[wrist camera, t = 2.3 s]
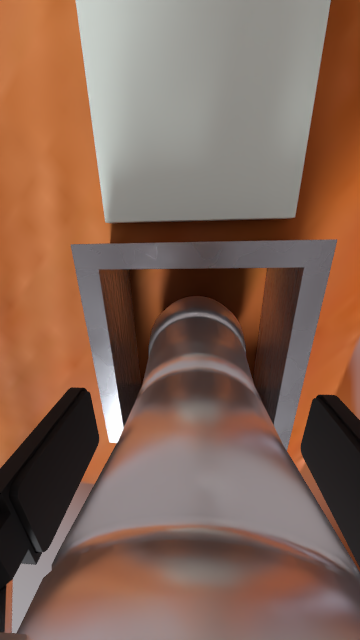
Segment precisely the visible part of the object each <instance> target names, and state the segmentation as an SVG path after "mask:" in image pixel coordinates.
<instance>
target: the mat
mask: <svg viewBox="0 0 360 640" xmlns="http://www.w3.org/2000/svg"><path fill="white" fill-rule="evenodd" d="M330 2H331V0H76V7H77V14H78V22H79V29H80V37H81V44H82V51H83V59H84V66H85V74H86V81H87V89H88V96H89V104H90V111H91V119H92V126H93V134H94V141H95V148H96V156H97V163H98V171H99V178H100V186H101V193H102V201H103V208H104V216H105V222H106V223H139V222H178V221H217V220H256V219H290V218H295V215H296V209H297V203H298V197H299V191H300V185H301V179H302V173H303V167H304V161H305V154H306V148H307V142H308V136H309V130H310V124H311V118H312V112H313V106H314V100H315V94H316V87H317V81H318V75H319V69H320V63H321V57H322V51H323V45H324V39H325V33H326V27H327V21H328V14H329V8H330Z"/></svg>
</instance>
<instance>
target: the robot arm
mask: <svg viewBox="0 0 360 640" xmlns="http://www.w3.org/2000/svg"><path fill="white" fill-rule="evenodd" d="M98 443H99V434H98V429H97V424H96V419H95V415H94V410H93V405H92V400H91V395H90V392H87V390H86V389H85V388H70V389H69V390H68V391H67V392H66V393H65V394H64V395H63V397H62V398H61V399H60V400H59V401H58V402H57V403H56V405H55V406H54V407H53V408H52V409H51V410H50V412H49V413H48V414H47V415H46V416H45V417H44V419H43V420H42V421H41V422H40V423H39V424H38V426H37V427H36V428H35V429H34V430H33V431H32V432H31V434H30V435H29V436H28V437H27V438H26V439H25V441H24V442H23V443H22V444H21V445H20V446H19V448H18V449H17V450H16V451H15V452H14V453H13V455H12V456H11V457H10V458H9V459H8V460H7V461H6V463H5V464H4V465H3V466H2V467H1V468H0V640H27V635H26V634H15V633H12V593H13V577H14V575H15V574H16V572H17V570H18V568H19V566H20V564H21V563H24V564H35V565H36V564H37V562H38V560H39V558H40V556H41V554H42V552H45V551H46V550H47V549H48V548H49V546H50V544H51V542H52V540H53V538H54V536H55V534H56V532H57V530H58V528H59V526H60V524H61V521H62V519H63V517H64V515H65V513H66V511H67V509H68V507H69V505H70V503H71V500H72V498H73V496H74V494H75V492H76V490H77V488H78V486H79V484H80V482H81V480H82V478H83V475H84V473H85V471H86V469H87V467H88V465H89V463H90V461H91V459H92V457H93V454H94V452H95V450H96V448H97V446H98ZM301 453H302V456H303V458H304V460H305V462H306V464H307V466H308V468H309V469H310V471H311V473H312V475H313V477H314V479H315V481H316V483H317V485H318V487H319V489H320V491H321V493H322V495H323V497H324V499H325V501H326V503H327V505H328V507H329V508H330V510H331V512H332V514H333V516H334V518H335V520H336V522H337V524H338V526H339V528H340V530H341V532H342V534H343V536H344V538H345V540H346V542H347V544H348V546H349V548H350V550H351V551H352V553H353V555H354V557H355V559H356V561H357V563H358V565H359V567H360V420H359V419H358V418H357V417H356V416H355V415H354V414H353V413H352V412H351V411H350V410H349V409H348V407H347V406H346V405H345V404H344V403H343V402H342V401H341V400H340V399H339V398H338V397H337V396H335V395H318V396H317V397H316V398H314V399H313V400H312V404H311V408H310V412H309V416H308V420H307V423H306V427H305V431H304V435H303V439H302V443H301Z"/></svg>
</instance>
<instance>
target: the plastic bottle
mask: <svg viewBox="0 0 360 640" xmlns="http://www.w3.org/2000/svg"><path fill="white" fill-rule="evenodd" d="M16 634H26V635H27V640H360V572H359V570H358V569H357V567H356V565H355V564H354V562H353V560H352V559H351V557H350V555H349V554H348V552H347V550H346V549H345V547H344V545H343V544H342V542H341V541H340V539H339V537H338V535H337V534H336V532H335V530H334V529H333V527H332V525H331V524H330V522H329V520H328V519H327V517H326V515H325V514H324V512H323V510H322V509H321V507H320V505H319V504H318V502H317V501H316V499H315V497H314V495H313V494H312V492H311V490H310V489H309V487H308V486H307V484H306V482H305V481H304V479H303V477H302V476H301V474H300V472H299V471H298V469H297V467H296V466H295V464H294V462H293V461H292V459H291V457H290V456H289V454H288V452H287V451H286V449H285V447H284V446H283V444H282V442H281V439H280V437H279V435H278V433H277V431H276V429H275V427H274V425H273V423H272V421H271V419H270V417H269V415H268V413H267V411H266V409H265V407H264V405H263V403H262V401H261V398H260V396H259V394H258V392H257V390H256V388H255V386H254V383H253V380H252V376H251V373H250V369H249V365H248V362H247V358H246V345H245V340H244V336H243V332H242V328H241V326H240V324H239V322H238V320H237V318H236V317H235V316H234V315H233V313H232V312H231V311H230V310H228V309H227V308H226V307H225V306H223V305H222V304H221V303H219V302H217V301H216V300H214V299H211V298H208V297H204V296H190V297H185V298H182V299H179V300H177V301H176V302H174V303H172V304H171V305H170V306H169V307H167V308H166V309H165V310H164V311H163V312H162V313H161V314H160V315H159V317H158V318H157V319H156V321H155V323H154V326H153V328H152V332H151V336H150V342H149V359H148V363H147V367H146V372H145V376H144V380H143V385H142V387H141V389H140V392H139V394H138V396H137V398H136V401H135V404H134V406H133V408H132V410H131V412H130V415H129V417H128V419H127V422H126V424H125V426H124V429H123V431H122V433H121V435H120V438H119V440H118V442H117V444H116V446H115V448H114V450H113V452H112V453H111V455H110V457H109V459H108V461H107V463H106V464H105V466H104V468H103V470H102V472H101V474H100V475H99V477H98V479H97V481H96V483H95V485H94V487H93V488H92V490H91V492H90V494H89V496H88V498H87V499H86V501H85V503H84V505H83V507H82V509H81V511H80V512H79V514H78V516H77V518H76V520H75V522H74V524H73V525H72V527H71V529H70V531H69V533H68V534H67V536H66V538H65V540H64V542H63V544H62V546H61V547H60V549H59V551H58V553H57V555H56V557H55V559H54V562H53V564H52V571H51V572H50V573H49V574H47V575H46V576H45V577H44V578H43V580H42V582H41V584H40V586H39V588H38V590H37V592H36V594H35V596H34V598H33V600H32V602H31V604H30V607H29V609H28V611H27V613H26V615H25V617H24V619H23V621H22V623H21V625H20V627H19V629H18V631H17V633H16Z"/></svg>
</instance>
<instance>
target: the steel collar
mask: <svg viewBox="0 0 360 640" xmlns="http://www.w3.org/2000/svg"><path fill="white" fill-rule="evenodd" d="M336 243H337V240H262V241H209V242H156V243H106V244H73V245H71V249H72V254H73V259H74V264H75V269H76V274H77V280H78V285H79V290H80V295H81V300H82V305H83V310H84V315H85V320H86V325H87V331H88V336H89V341H90V346H91V351H92V356H93V361H94V366H95V371H96V377H97V382H98V387H99V392H100V397H101V402H102V407H103V412H104V417H105V423H106V428H107V433H108V438H109V442H111V443H117V442H118V440H119V438H120V435H121V433H122V431H123V429H124V426H125V424H126V422H127V419H128V417H129V415H130V412H131V410H132V408H133V406H134V404H135V401H136V398H137V396H138V394H139V392H140V389H141V387H142V385H143V384H141V379H140V369H139V360H138V350H137V340H136V331H135V321H134V312H133V302H132V293H131V283H130V273H129V269H192V268H267V275H266V282H265V290H264V297H263V305H262V313H261V320H260V328H259V335H258V343H257V351H256V358H255V366H254V374H253V383H254V386H255V388H256V390H257V392H258V394H259V396H260V398H261V401H262V403H263V405H264V407H265V409H266V411H267V413H268V415H269V417H270V419H271V421H272V423H273V425H274V427H275V429H276V431H277V433H278V435H279V437H280V439H281V442H282V444H283V446H284V447H285V449H286V451H287V448H288V444H289V440H290V436H291V432H292V427H293V423H294V419H295V415H296V411H297V407H298V402H299V398H300V394H301V390H302V386H303V381H304V377H305V373H306V369H307V365H308V360H309V356H310V352H311V348H312V344H313V340H314V335H315V331H316V327H317V323H318V319H319V314H320V310H321V306H322V302H323V298H324V293H325V289H326V285H327V281H328V277H329V273H330V268H331V264H332V260H333V256H334V252H335V247H336Z"/></svg>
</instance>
